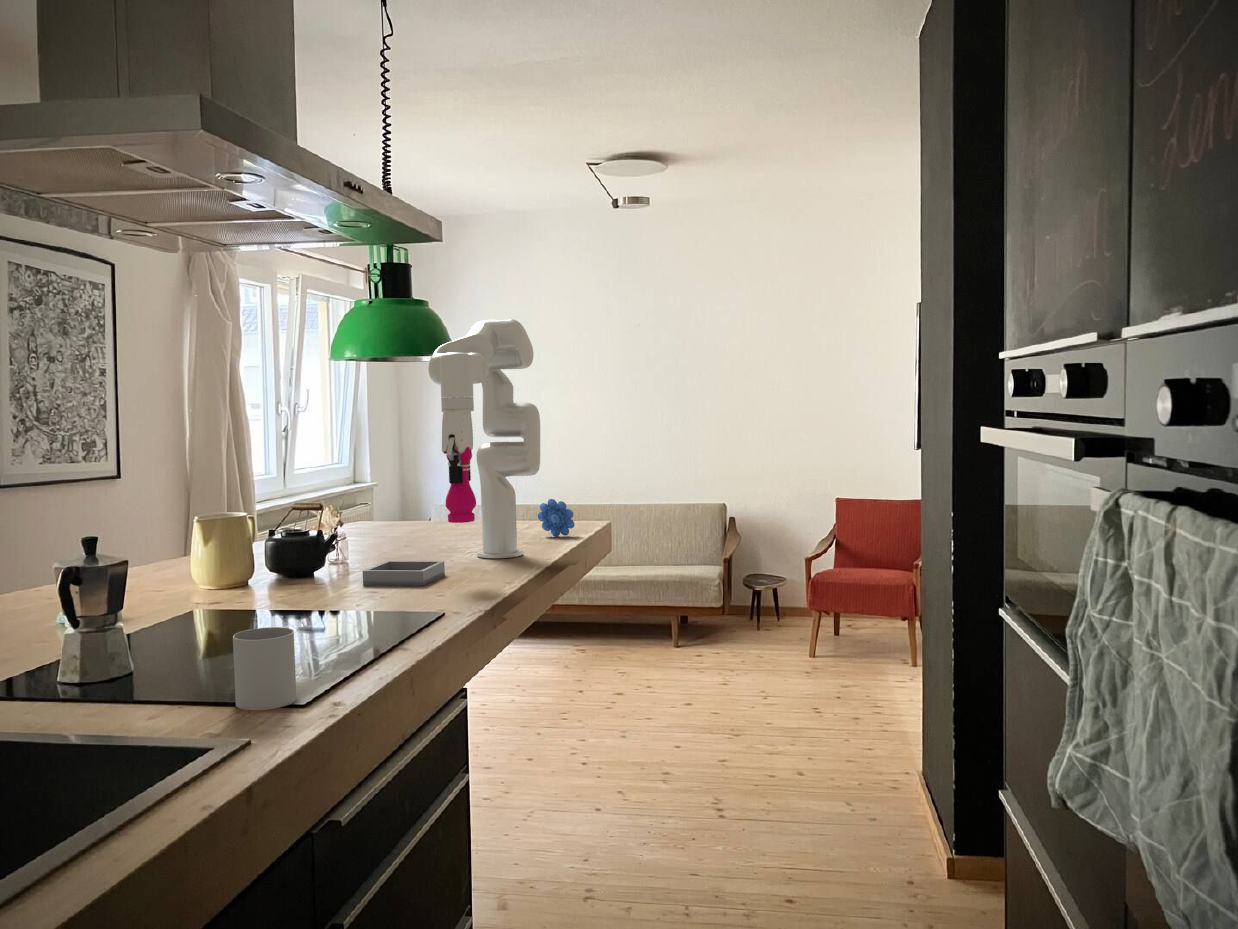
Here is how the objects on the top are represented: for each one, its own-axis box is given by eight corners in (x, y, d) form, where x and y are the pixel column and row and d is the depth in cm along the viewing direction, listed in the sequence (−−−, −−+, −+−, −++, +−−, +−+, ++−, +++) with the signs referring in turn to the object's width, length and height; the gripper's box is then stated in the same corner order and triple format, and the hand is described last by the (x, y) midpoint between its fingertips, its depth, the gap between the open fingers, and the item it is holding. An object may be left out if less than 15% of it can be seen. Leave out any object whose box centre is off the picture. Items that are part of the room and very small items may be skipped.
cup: (291, 690, 155) (288, 624, 155) (302, 704, 148) (299, 635, 148) (231, 699, 151) (228, 631, 151) (240, 713, 144) (237, 643, 144)
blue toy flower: (536, 538, 322) (535, 500, 321) (539, 535, 328) (538, 498, 328) (573, 538, 321) (572, 499, 320) (575, 535, 328) (574, 497, 327)
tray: (387, 574, 259) (387, 560, 259) (444, 575, 257) (444, 561, 257) (363, 585, 245) (362, 570, 244) (423, 586, 242) (423, 571, 242)
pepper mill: (479, 519, 248) (477, 436, 247) (472, 523, 241) (469, 437, 240) (450, 519, 249) (447, 436, 248) (442, 523, 242) (439, 438, 240)
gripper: (453, 405, 252) (456, 479, 253) (429, 406, 235) (432, 485, 237) (483, 404, 251) (485, 479, 252) (461, 405, 234) (464, 485, 235)
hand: (460, 481), depth 244 cm, fingers closed on pepper mill, 5 cm apart
